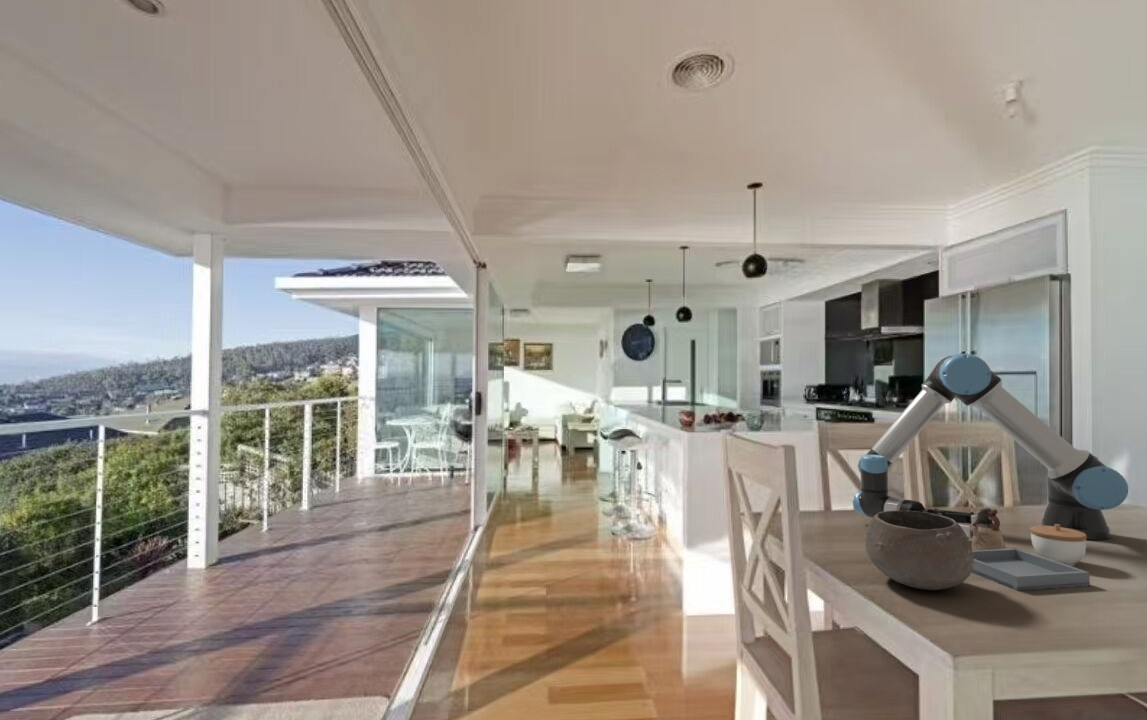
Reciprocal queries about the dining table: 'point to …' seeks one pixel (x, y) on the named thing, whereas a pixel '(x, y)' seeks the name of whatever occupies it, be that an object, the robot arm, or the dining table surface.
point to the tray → (1026, 570)
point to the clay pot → (919, 549)
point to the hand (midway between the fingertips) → (984, 528)
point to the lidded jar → (1059, 543)
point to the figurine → (987, 531)
